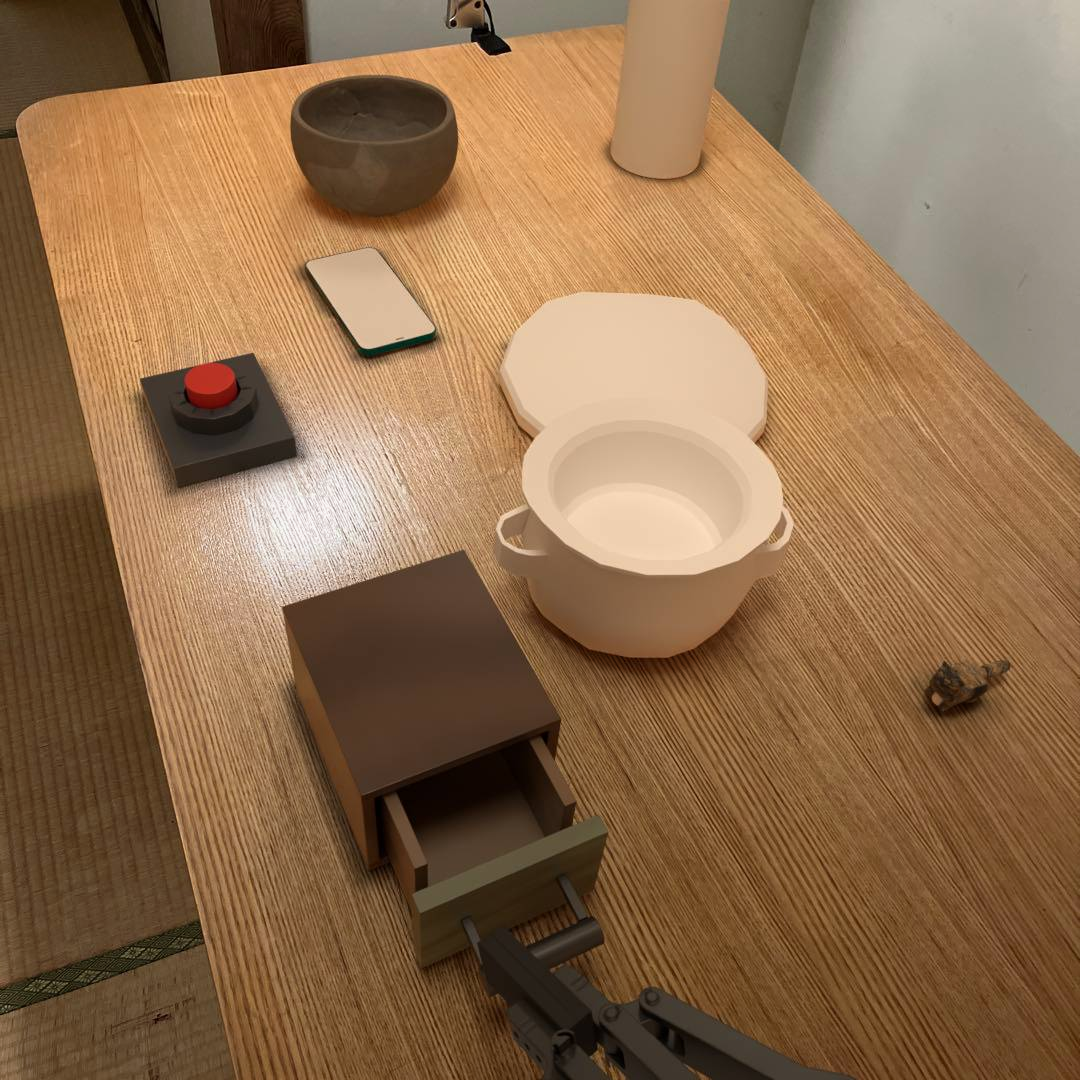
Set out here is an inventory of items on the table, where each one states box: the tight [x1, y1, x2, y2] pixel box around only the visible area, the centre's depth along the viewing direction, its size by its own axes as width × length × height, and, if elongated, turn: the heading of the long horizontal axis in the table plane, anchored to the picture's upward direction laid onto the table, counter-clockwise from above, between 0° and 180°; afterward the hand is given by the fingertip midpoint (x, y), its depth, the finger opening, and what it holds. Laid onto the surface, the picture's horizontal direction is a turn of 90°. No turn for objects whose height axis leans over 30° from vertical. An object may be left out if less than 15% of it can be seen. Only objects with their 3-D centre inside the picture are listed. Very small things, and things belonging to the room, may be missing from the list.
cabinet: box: [281, 549, 562, 872], centre depth 70 cm, size 15×13×10 cm
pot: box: [492, 398, 795, 659], centre depth 79 cm, size 22×17×12 cm
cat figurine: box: [924, 659, 1011, 712], centre depth 78 cm, size 3×8×4 cm, turn 116°
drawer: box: [374, 734, 609, 998], centre depth 64 cm, size 18×11×8 cm, turn 26°
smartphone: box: [304, 246, 437, 357], centre depth 105 cm, size 8×1×16 cm
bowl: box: [289, 74, 459, 218], centre depth 116 cm, size 17×18×10 cm
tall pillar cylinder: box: [610, 0, 731, 180], centre depth 120 cm, size 11×11×25 cm
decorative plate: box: [498, 291, 769, 444], centre depth 98 cm, size 25×4×25 cm
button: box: [185, 362, 237, 409], centre depth 89 cm, size 4×4×2 cm
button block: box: [139, 352, 298, 488], centre depth 91 cm, size 10×12×4 cm
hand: (494, 953), depth 51 cm, fingers closed
